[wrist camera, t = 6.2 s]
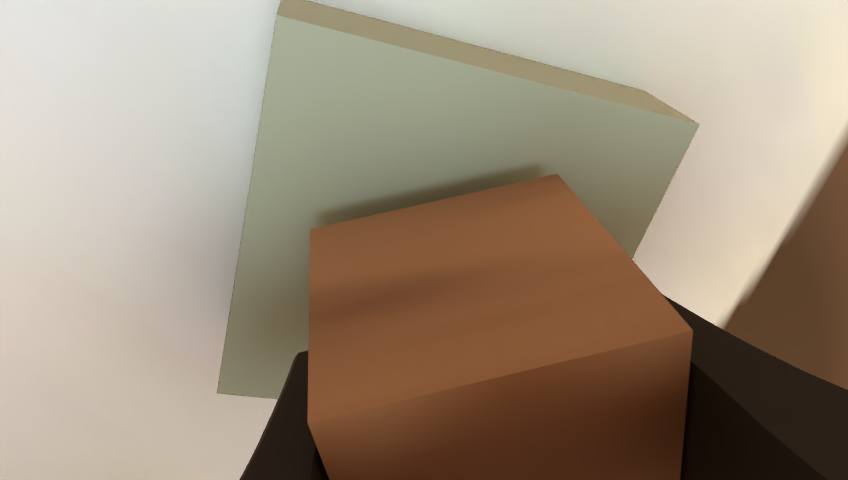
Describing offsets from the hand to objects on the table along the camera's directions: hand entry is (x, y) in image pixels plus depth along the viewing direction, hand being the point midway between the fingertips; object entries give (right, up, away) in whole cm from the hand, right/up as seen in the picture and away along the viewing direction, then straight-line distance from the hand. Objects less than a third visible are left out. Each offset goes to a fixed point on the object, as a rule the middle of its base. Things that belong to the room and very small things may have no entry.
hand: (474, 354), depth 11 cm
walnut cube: (0, +1, +2) cm, 2 cm away
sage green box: (-1, +3, +5) cm, 6 cm away
